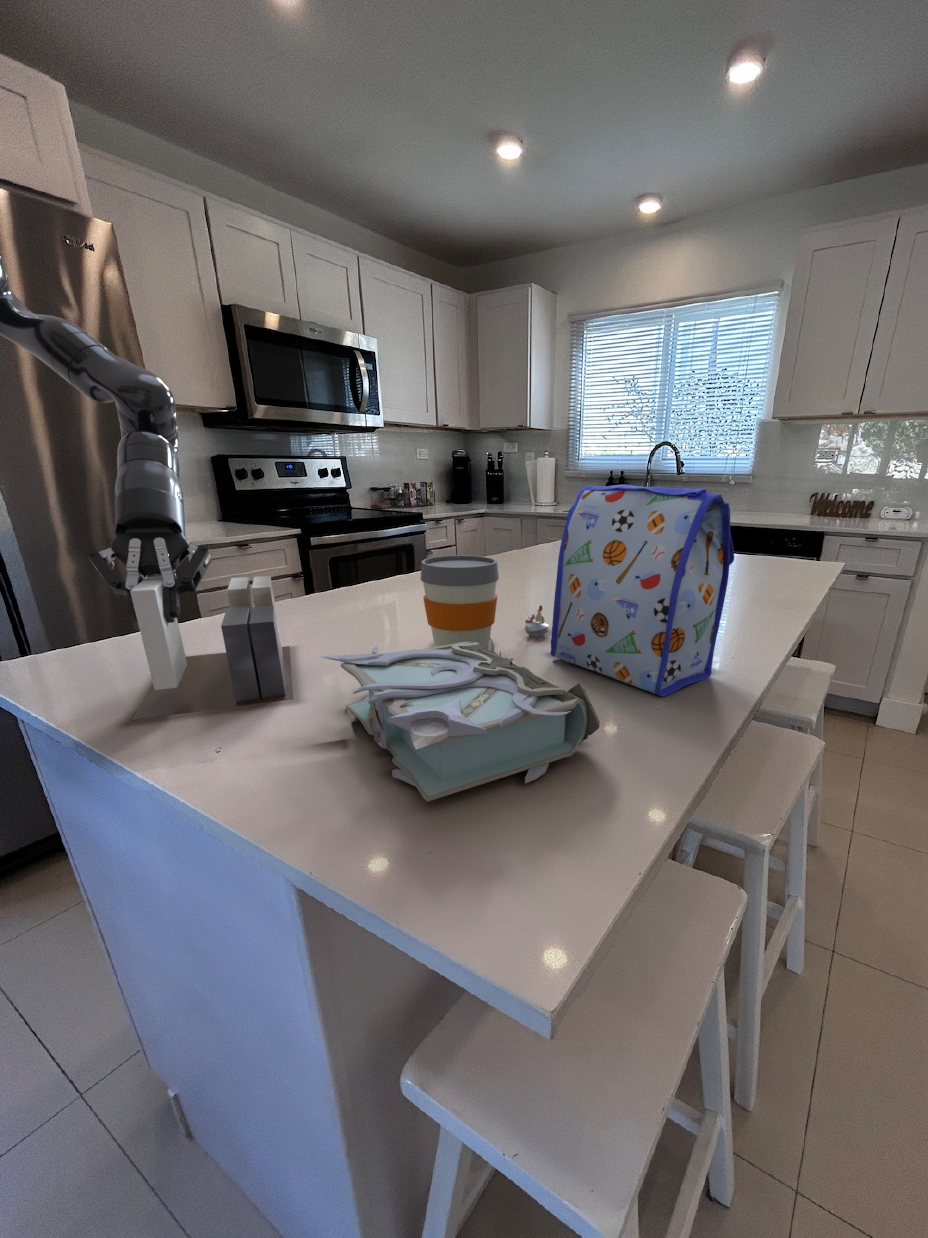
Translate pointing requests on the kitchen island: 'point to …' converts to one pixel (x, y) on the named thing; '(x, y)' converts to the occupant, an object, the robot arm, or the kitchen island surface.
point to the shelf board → (204, 688)
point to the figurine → (536, 625)
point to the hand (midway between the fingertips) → (154, 620)
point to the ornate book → (465, 715)
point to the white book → (158, 634)
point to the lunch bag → (642, 584)
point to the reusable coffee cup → (460, 598)
